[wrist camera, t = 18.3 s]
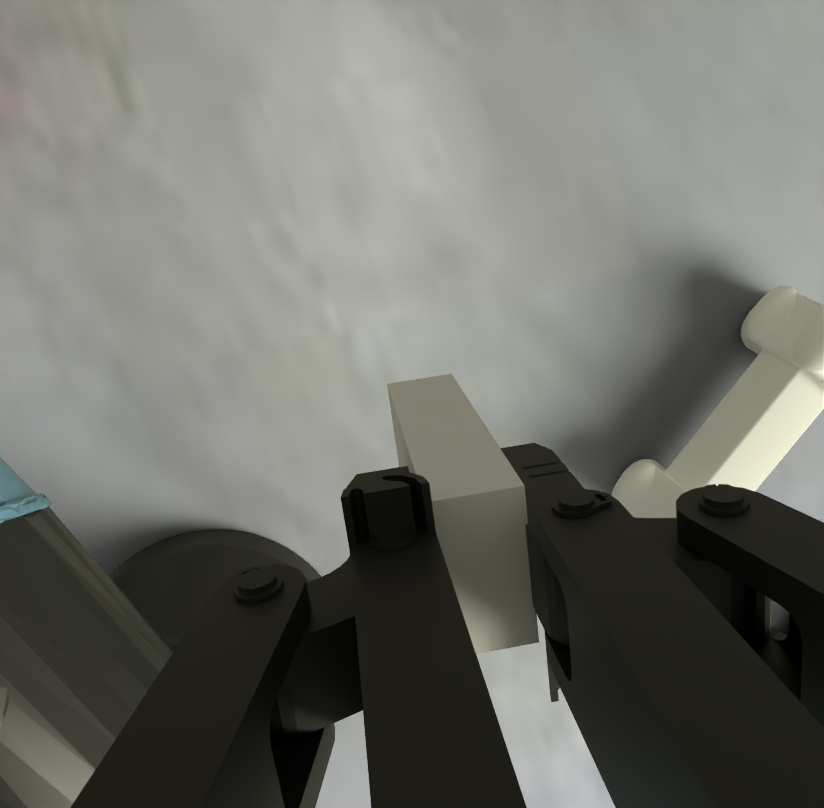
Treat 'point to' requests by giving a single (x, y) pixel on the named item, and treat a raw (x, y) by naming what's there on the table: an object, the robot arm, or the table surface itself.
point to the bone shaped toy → (745, 411)
